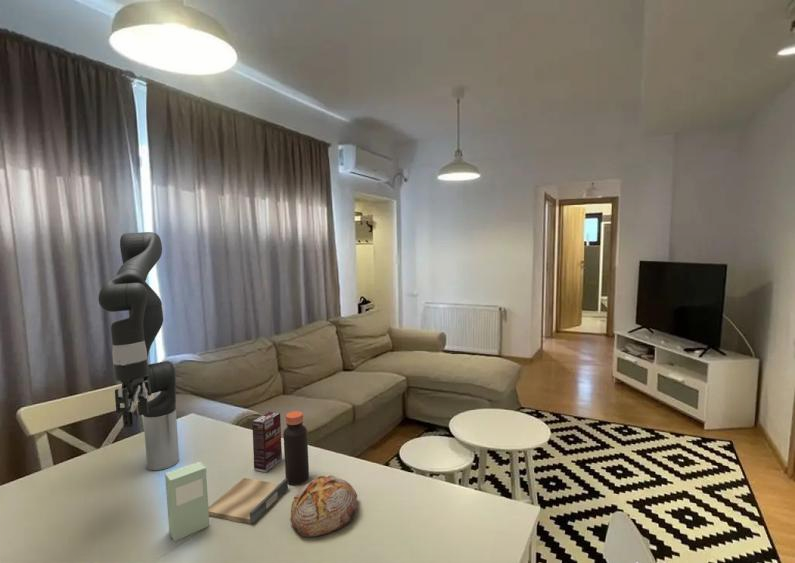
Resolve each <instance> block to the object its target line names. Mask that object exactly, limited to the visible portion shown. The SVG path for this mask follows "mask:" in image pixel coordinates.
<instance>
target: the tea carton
mask: <svg viewBox="0 0 795 563" xmlns="http://www.w3.org/2000/svg"><path fill="white" fill-rule="evenodd" d="M164 478H165V490H166V491H165V492H166V505H167V519H168V520H167V522H168V532H169V535H170V536H171V538H172V539H173V541H174V542H177V541H178V540H180V539H183V538H185V537H187V536H189V535H191V534H194V533H196V532H198V531H201V530H204V529H205V528H208V527H210V516H209V509H208V507H209V496H208V495H209V494H208V483H207V482H208V481H207V467H206V466H205V465H204V464H203V463H202V462H201V461H199V460H198V461H197V462H194V463H191V464H187V465H185V466H183V467H180V468H175V469H173V470H170V471H168V472H165V473H164Z"/></svg>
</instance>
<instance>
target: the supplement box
mask: <svg viewBox="0 0 795 563" xmlns="http://www.w3.org/2000/svg"><path fill="white" fill-rule="evenodd" d="M281 424H282V423H281V413H280V412H276V411H268V412H267V413H265V414H262V415H261V416H259V417H258V418H256V419H254V420H252V447H253V451H252V452H253V453H252V454H253V471H256V472H261V473H267V472H269V470H272V468H273V467H275V466H276V465H277V464H278V463H280V462H281V461H283V455H282V454H283V449H282V447H283V446H282V428H281V427H282V426H281Z"/></svg>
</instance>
